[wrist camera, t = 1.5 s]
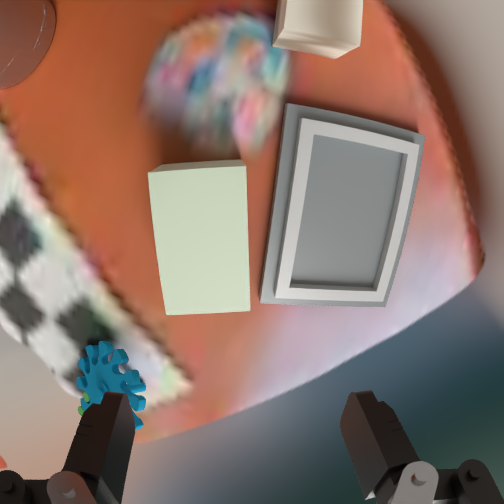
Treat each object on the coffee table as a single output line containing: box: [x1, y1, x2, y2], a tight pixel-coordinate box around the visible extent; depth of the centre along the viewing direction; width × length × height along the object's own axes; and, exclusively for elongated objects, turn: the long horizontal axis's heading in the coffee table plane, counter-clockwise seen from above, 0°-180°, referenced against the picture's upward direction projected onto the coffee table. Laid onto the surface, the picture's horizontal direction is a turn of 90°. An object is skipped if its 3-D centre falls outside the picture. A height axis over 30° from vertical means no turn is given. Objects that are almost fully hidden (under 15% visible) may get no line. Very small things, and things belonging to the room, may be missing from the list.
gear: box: [77, 341, 146, 430], centre depth 28 cm, size 11×6×10 cm
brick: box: [148, 159, 250, 315], centre depth 23 cm, size 10×6×5 cm, turn 1°
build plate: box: [259, 103, 425, 307], centre depth 25 cm, size 12×16×2 cm
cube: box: [272, 0, 363, 59], centre depth 18 cm, size 5×5×5 cm
